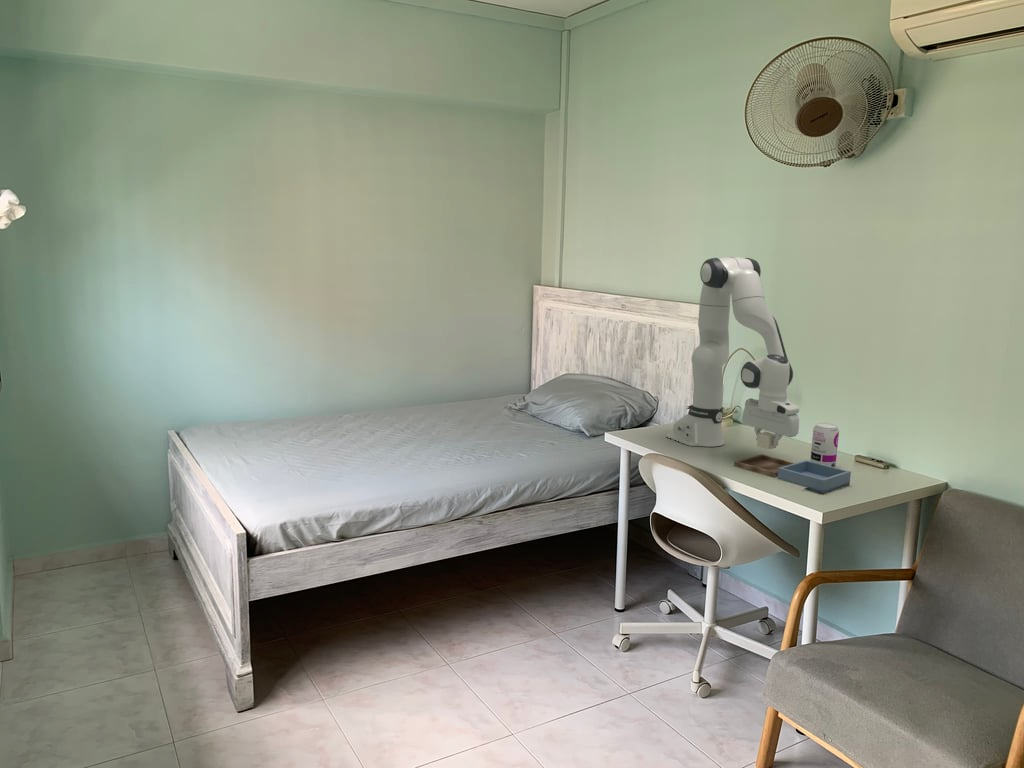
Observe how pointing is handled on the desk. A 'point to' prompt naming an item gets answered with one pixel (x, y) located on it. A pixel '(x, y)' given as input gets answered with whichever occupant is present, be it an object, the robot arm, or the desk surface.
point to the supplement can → (825, 444)
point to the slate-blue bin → (815, 476)
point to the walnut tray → (762, 464)
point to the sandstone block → (766, 440)
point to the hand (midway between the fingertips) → (766, 443)
